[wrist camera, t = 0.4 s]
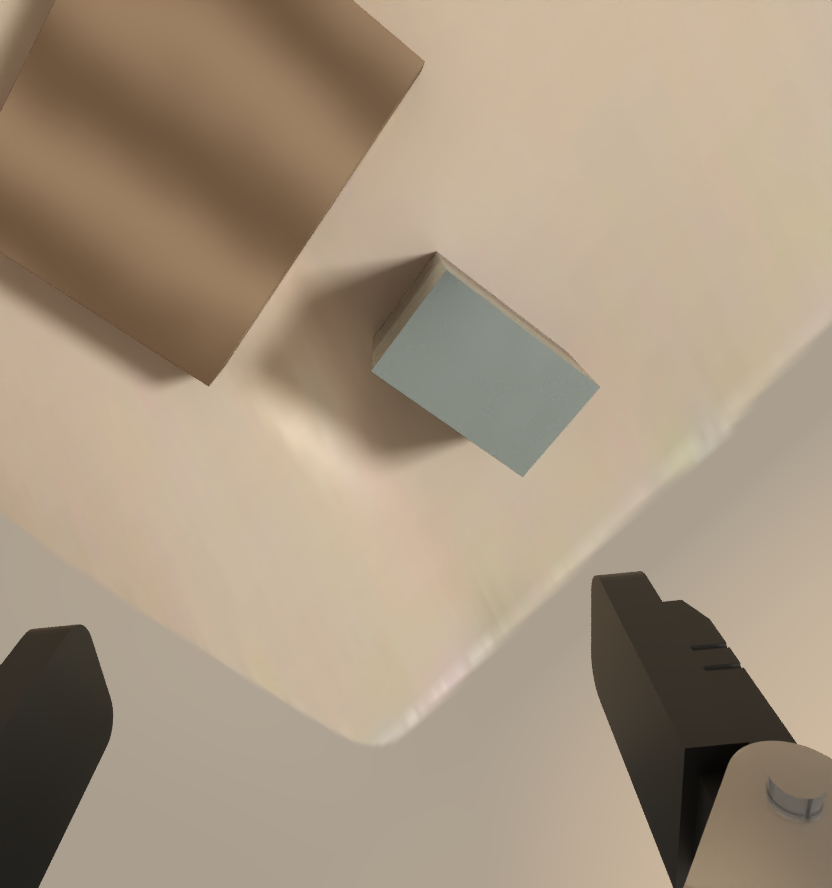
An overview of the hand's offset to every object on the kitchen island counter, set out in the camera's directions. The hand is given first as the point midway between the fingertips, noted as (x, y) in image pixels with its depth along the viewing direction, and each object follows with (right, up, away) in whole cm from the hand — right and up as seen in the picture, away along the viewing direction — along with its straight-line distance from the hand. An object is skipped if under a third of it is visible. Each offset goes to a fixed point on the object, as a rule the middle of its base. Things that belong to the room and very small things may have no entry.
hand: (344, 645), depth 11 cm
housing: (+4, +8, +23) cm, 25 cm away
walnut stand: (-8, +16, +19) cm, 26 cm away
